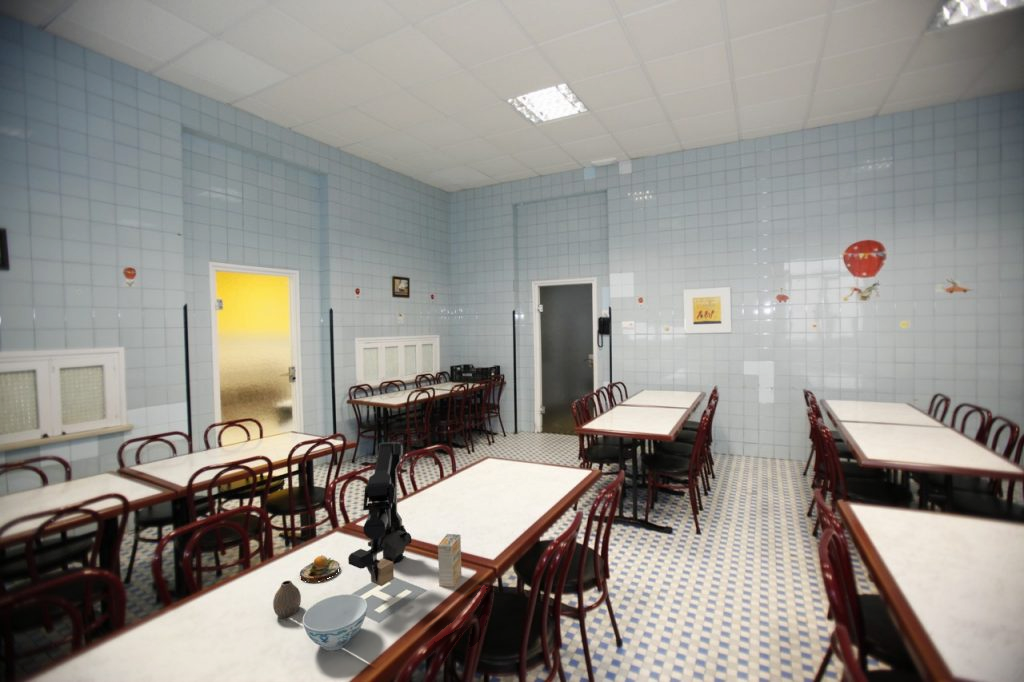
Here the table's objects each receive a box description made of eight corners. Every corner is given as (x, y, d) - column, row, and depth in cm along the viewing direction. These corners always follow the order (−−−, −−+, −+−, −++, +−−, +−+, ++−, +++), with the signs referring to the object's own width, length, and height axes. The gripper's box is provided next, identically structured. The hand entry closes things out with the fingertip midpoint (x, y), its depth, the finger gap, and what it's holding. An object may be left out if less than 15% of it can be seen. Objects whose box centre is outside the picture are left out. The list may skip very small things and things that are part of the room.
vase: (306, 608, 131) (305, 578, 130) (287, 623, 124) (286, 591, 124) (287, 604, 133) (286, 574, 133) (267, 619, 126) (266, 587, 126)
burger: (340, 562, 158) (339, 540, 157) (339, 579, 146) (338, 556, 146) (302, 568, 154) (301, 546, 154) (297, 587, 143) (296, 563, 142)
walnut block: (371, 581, 134) (370, 564, 134) (383, 574, 138) (382, 558, 138) (381, 586, 131) (380, 568, 131) (393, 579, 135) (393, 561, 135)
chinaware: (306, 671, 106) (304, 638, 106) (302, 634, 119) (301, 604, 119) (373, 649, 113) (372, 617, 113) (362, 616, 126) (361, 588, 126)
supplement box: (454, 589, 138) (452, 546, 138) (438, 588, 139) (437, 545, 139) (462, 575, 146) (461, 534, 146) (447, 574, 147) (446, 533, 147)
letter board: (336, 604, 132) (336, 602, 132) (386, 575, 147) (386, 573, 147) (379, 625, 122) (379, 622, 122) (427, 592, 137) (427, 590, 137)
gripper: (372, 543, 122) (374, 601, 122) (423, 518, 137) (425, 570, 138) (346, 533, 128) (348, 589, 128) (397, 510, 144) (399, 560, 144)
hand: (382, 577), depth 134 cm, fingers closed on walnut block, 4 cm apart
